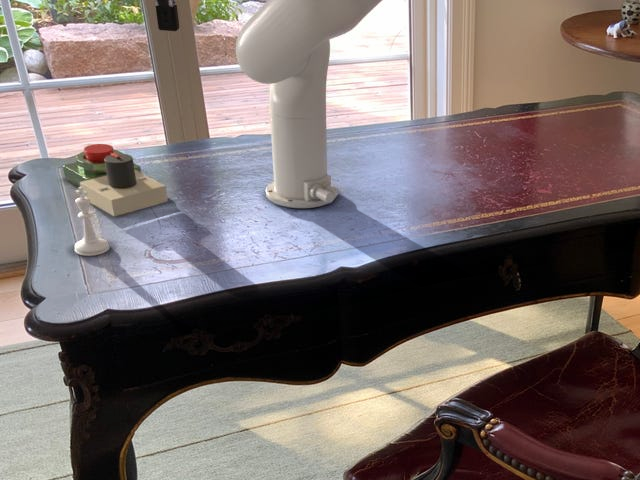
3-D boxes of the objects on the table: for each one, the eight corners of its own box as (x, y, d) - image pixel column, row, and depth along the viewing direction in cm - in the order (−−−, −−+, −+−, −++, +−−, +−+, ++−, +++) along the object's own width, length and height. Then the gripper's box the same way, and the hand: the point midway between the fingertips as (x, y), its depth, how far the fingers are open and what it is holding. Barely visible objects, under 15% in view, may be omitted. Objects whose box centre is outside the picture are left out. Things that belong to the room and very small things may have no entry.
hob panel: (167, 201, 142) (165, 184, 141) (114, 217, 136) (111, 199, 134) (135, 184, 147) (133, 167, 145) (82, 198, 140) (79, 181, 139)
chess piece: (97, 258, 123) (85, 196, 118) (67, 252, 124) (54, 190, 118) (116, 244, 127) (105, 184, 122) (87, 239, 128) (75, 179, 123)
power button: (105, 151, 148) (104, 141, 147) (120, 158, 146) (118, 149, 145) (80, 157, 145) (78, 147, 144) (94, 164, 143) (92, 155, 142)
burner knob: (141, 184, 140) (137, 157, 137) (116, 190, 137) (111, 163, 134) (128, 176, 142) (124, 150, 140) (104, 182, 139) (99, 155, 137)
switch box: (117, 167, 153) (113, 143, 151) (142, 180, 149) (139, 156, 147) (65, 179, 147) (60, 155, 144) (90, 193, 142) (85, 169, 140)
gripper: (141, -97, 137) (156, 19, 148) (117, -87, 125) (135, 38, 135) (187, -93, 138) (199, 21, 149) (168, -83, 126) (182, 41, 136)
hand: (169, 29), depth 142 cm, fingers closed
